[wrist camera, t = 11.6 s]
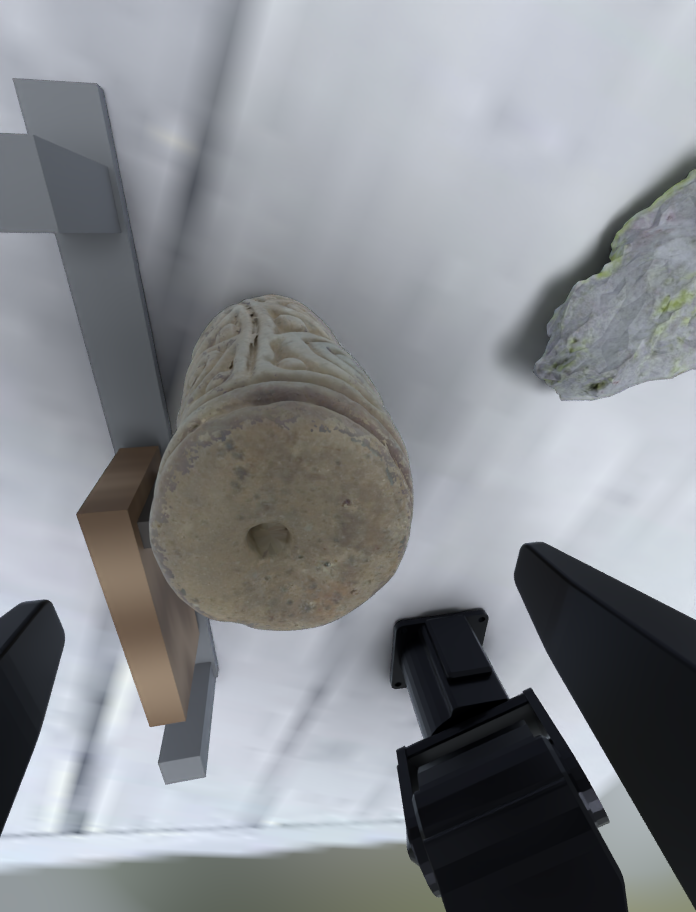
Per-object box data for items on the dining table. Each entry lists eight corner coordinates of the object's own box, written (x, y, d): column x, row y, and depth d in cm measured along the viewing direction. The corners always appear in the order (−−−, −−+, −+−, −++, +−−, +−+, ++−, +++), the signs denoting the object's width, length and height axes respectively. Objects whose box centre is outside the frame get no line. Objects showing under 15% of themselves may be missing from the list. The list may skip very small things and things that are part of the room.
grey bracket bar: (219, 673, 28) (209, 776, 22) (180, 679, 27) (161, 785, 22) (103, 88, 14) (8, 2, 9) (22, 84, 14) (-129, -10, 8)
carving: (235, 465, 21) (208, 694, 10) (170, 310, 17) (29, 423, 7) (358, 429, 21) (452, 616, 11) (319, 270, 18) (403, 318, 7)
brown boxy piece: (287, 622, 25) (292, 703, 21) (170, 637, 24) (150, 727, 20) (272, 438, 20) (275, 496, 15) (119, 448, 19) (75, 514, 14)
